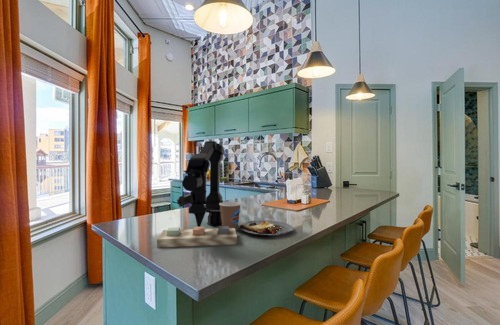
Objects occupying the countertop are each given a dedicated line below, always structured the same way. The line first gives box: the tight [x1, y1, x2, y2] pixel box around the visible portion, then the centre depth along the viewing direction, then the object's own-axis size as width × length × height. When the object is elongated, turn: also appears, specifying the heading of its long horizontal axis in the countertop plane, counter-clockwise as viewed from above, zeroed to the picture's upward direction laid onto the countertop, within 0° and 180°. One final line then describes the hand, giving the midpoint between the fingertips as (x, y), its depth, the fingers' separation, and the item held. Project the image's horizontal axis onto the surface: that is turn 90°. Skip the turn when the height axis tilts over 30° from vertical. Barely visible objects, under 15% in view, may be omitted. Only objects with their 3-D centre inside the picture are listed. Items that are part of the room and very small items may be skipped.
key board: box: [156, 228, 238, 248], centre depth 102 cm, size 30×12×3 cm, turn 98°
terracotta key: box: [192, 226, 206, 235], centre depth 102 cm, size 4×4×4 cm
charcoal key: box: [217, 225, 229, 234], centre depth 103 cm, size 4×4×4 cm
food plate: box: [238, 219, 295, 237], centre depth 117 cm, size 25×23×4 cm
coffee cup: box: [219, 201, 242, 231], centre depth 120 cm, size 10×10×12 cm
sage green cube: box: [166, 226, 181, 236], centre depth 101 cm, size 4×4×4 cm
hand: (198, 226), depth 102 cm, fingers closed
